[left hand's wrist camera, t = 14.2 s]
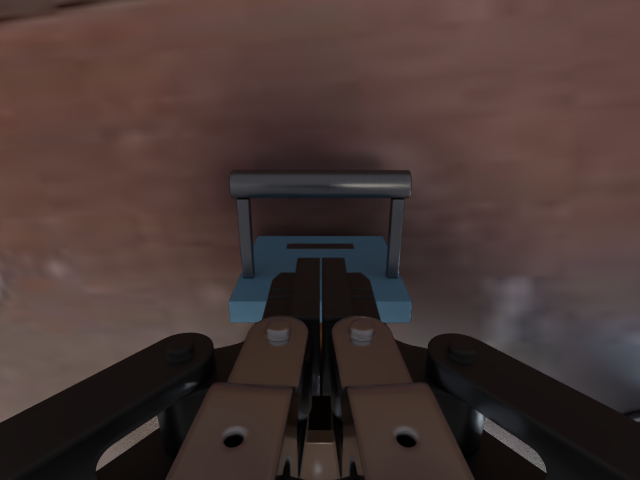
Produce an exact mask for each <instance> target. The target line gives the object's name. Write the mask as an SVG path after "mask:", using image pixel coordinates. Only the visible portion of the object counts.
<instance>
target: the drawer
mask: <svg viewBox="0 0 640 480" xmlns="http://www.w3.org/2000/svg"><path fill="white" fill-rule="evenodd" d="M229 187H230V193H231V196H232V198H237V200H236V201H237V213H238V226H239V238H240V251H241V263H242V273H241V275H240V277H239V280H238V282H237V284H236V286H235V289H234V291H233V293H232V295H231V297H230V300H229V311H230V321H231V322H255V323H257V322H258V321H260V320H262V317H263V313H264V309H265V306H266V302H267V298H268V294H269V291H270V286H271V283H272V280H273V279H274V278H275V277H276V276H277V275H278V274H280V273H281V272H296V264H297V258H320V396H312V407H311V411H310V413H309V429H308V430H332V429H331V396H323V390H322V258H345V264H346V271H347V272H361V273H362V274H364V275H365V276H366V277H367V278H368V279H369V280H370V282H371V286H372V290H373V293H374V298H375V301H376V304H377V308H378V312H379V315H380V319H381V321H382V322H383V323H385V324H386V323H410V320H411V310H412V300H411V298H410V296H409V293H408V291H407V289H406V287H405V285H404V282H403V280H402V278H401V276H400V274H399V261H400V249H401V237H402V225H403V212H404V198H409V196H410V193H411V187H412V178H411V173H410V171H409V170H232V171H231V173H230V178H229ZM250 198H391V202H390V216H389V231H388V245H386V242H385V240H384V238H383V236H258V237H257V239H256V242H255V244H254V246H253V233H252V218H251V203H250Z"/></svg>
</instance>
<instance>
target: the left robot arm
mask: <svg viewBox="0 0 640 480" xmlns="http://www.w3.org/2000/svg"><path fill="white" fill-rule="evenodd" d="M322 390H323V396H331V429H332V437H333V445H334V453H335V461H336V469H337V477H338V479H336V480H640V412H637V413H632V414H629V415H626V416H625V415H623V414H621V413H619V412H617V411H616V410H614V409H612V408H610V407H608V406H606V405H604V404H602V403H600V402H598V401H596V400H594V399H592V398H590V397H588V396H586V395H584V394H582V393H580V392H579V391H577V390H575V389H573V388H571V387H569V386H567V385H565V384H563V383H561V382H559V381H557V380H555V379H553V378H551V377H549V376H547V375H545V374H543V373H542V372H540V371H538V370H536V369H534V368H532V367H530V366H528V365H526V364H524V363H522V362H520V361H518V360H516V359H514V358H512V357H510V356H508V355H506V354H505V353H503V352H501V351H499V350H497V349H495V348H493V347H491V346H489V345H487V344H485V343H483V342H481V341H479V340H477V339H475V338H472V337H469V336H466V335H462V334H453V333H450V334H441V335H438V336H436V337H434V338H433V339H431V341H430V342H429V344H428V349H427V348H422V347H417V346H412V345H408V344H405V343H402V342H400V341H398V340H396V339H394V337H393V335H392V332H391V330H390V328H389V327H388V326H387V325H386V324H385V323H383V322H382V321H381V319H380V315H379V312H378V308H377V304H376V301H375V298H374V293H373V290H372V286H371V282H370V280H369V279H368V278H367V277H366V276H365V275H364V274H362V273H361V272H347V271H346V264H345V258H322ZM312 396H320V258H297V264H296V272H281V273H280V274H278V275H277V276H276V277H275V278H274V279H273V280H272V283H271V286H270V291H269V294H268V298H267V302H266V306H265V309H264V313H263V317H262V320H260V321H258V322H257V323H255V324H254V325H253V326H252V327H251V328H250V330H249V332H248V335H247V337H246V339H245V341H243V342H241V343H238V344H235V345H231V346H227V347H222V348H217V349H214V346H213V342H212V340H211V339H210V338H209V337H207V336H205V335H203V334H199V333H181V334H176V335H173V336H170V337H167V338H165V339H163V340H161V341H159V342H157V343H155V344H153V345H151V346H149V347H147V348H145V349H143V350H141V351H139V352H137V353H135V354H134V355H132V356H130V357H128V358H126V359H124V360H122V361H120V362H118V363H116V364H114V365H112V366H110V367H108V368H106V369H104V370H102V371H100V372H98V373H97V374H95V375H93V376H91V377H89V378H87V379H85V380H83V381H81V382H79V383H77V384H75V385H73V386H71V387H69V388H67V389H65V390H63V391H61V392H60V393H58V394H56V395H54V396H52V397H50V398H48V399H46V400H44V401H42V402H40V403H38V404H36V405H34V406H32V407H30V408H28V409H26V410H24V411H23V412H21V413H19V414H17V415H15V416H13V417H11V418H9V419H7V420H5V421H3V422H1V423H0V480H304V479H302V477H303V469H304V461H305V453H306V445H307V437H308V429H309V413H310V411H311V407H312ZM156 415H157V416H158V421H159V426H160V428H158V429H157V430H155V431H154V432H152V433H151V434H150V435H148V436H147V437H145V438H144V439H142V440H141V441H140V442H138V443H137V444H135V445H134V446H132V447H131V448H129V449H128V450H127V451H125V452H124V453H122V454H121V455H119V456H118V457H116V458H115V459H114V460H112V461H111V462H109V463H108V464H106V465H105V466H104V467H102V468H101V469H99V470H98V471H96V466H97V463H98V461H99V459H100V457H101V456H102V454H103V453H104V452H105V451H106V450H107V449H108V448H109V447H110V446H111V445H113V444H114V443H116V442H117V441H119V440H120V439H122V438H123V437H125V436H126V435H128V434H129V433H131V432H132V431H134V430H135V429H137V428H138V427H140V426H141V425H143V424H144V423H146V422H147V421H149V420H150V419H152V418H153V417H155V416H156ZM485 417H487V418H488V419H490V420H491V421H493V422H494V423H496V424H497V425H499V426H500V427H502V428H503V429H505V430H506V431H508V432H509V433H511V434H512V435H514V436H515V437H517V438H518V439H520V440H521V441H523V442H524V443H526V444H527V445H529V446H530V447H531V448H533V449H534V450H535V451H536V452H537V453H538V454H539V456H540V457H541V458H542V460H543V462H544V464H545V466H546V470H547V473H545V472H544V471H542V470H541V469H539V468H538V467H536V466H535V465H534V464H532V463H531V462H529V461H528V460H526V459H525V458H524V457H522V456H521V455H519V454H518V453H516V452H515V451H513V450H512V449H511V448H509V447H508V446H506V445H505V444H503V443H502V442H501V441H499V440H498V439H496V438H495V437H493V436H492V435H490V434H489V433H488V432H486V431H485V430H483V426H484V421H485Z"/></svg>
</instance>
